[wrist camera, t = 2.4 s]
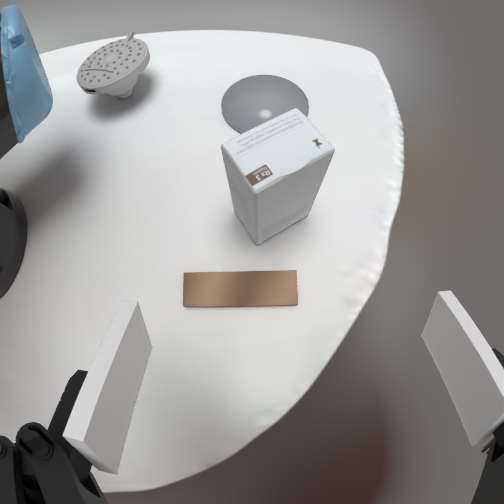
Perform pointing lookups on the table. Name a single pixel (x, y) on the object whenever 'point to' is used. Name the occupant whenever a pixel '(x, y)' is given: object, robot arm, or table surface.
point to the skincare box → (276, 173)
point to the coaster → (261, 101)
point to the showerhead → (114, 67)
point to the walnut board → (240, 289)
